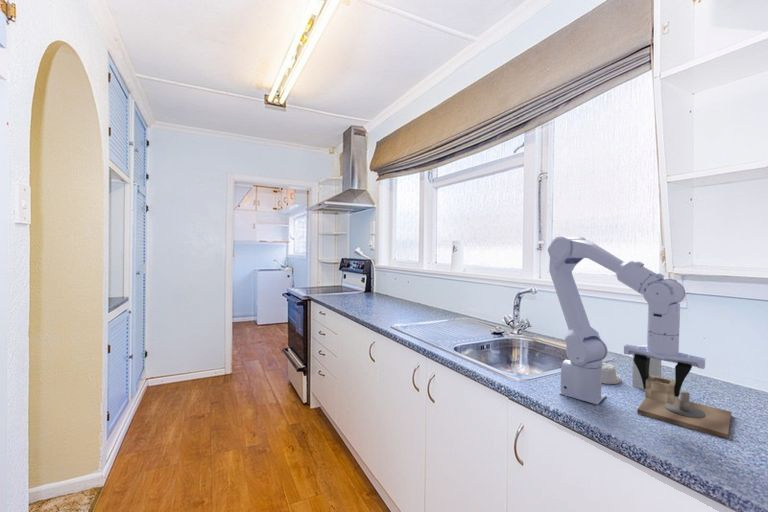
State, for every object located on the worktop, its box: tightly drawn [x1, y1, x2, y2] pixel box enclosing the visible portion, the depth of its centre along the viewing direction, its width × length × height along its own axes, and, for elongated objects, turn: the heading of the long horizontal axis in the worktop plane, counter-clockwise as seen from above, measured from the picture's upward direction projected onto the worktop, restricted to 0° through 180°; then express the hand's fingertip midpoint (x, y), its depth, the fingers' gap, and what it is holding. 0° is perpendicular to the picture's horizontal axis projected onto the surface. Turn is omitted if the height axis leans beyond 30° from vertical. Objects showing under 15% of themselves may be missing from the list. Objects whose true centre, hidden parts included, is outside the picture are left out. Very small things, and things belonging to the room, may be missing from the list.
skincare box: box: [632, 343, 662, 392], centre depth 104 cm, size 6×4×12 cm
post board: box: [637, 390, 732, 440], centre depth 87 cm, size 16×15×6 cm
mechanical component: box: [601, 361, 622, 385], centre depth 111 cm, size 10×4×10 cm
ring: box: [644, 375, 678, 404], centre depth 82 cm, size 5×5×4 cm
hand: (661, 391), depth 82 cm, fingers closed on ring, 5 cm apart
